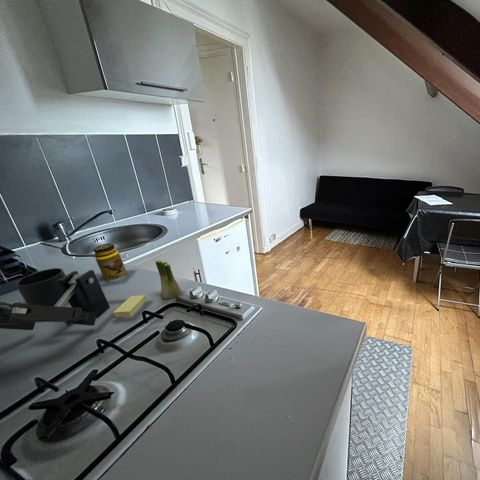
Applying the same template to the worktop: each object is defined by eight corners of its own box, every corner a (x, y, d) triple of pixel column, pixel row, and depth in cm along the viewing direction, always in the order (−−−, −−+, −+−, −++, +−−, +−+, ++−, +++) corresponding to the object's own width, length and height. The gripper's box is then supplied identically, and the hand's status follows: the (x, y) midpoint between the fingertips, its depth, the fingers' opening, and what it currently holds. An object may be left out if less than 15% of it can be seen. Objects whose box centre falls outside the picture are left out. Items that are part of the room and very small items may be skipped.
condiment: (123, 283, 84) (109, 249, 79) (93, 287, 82) (77, 253, 77) (133, 272, 90) (121, 240, 86) (105, 276, 89) (91, 244, 84)
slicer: (96, 332, 62) (74, 287, 57) (58, 335, 62) (32, 290, 57) (128, 302, 73) (112, 262, 68) (96, 304, 73) (77, 264, 68)
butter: (133, 320, 66) (129, 311, 64) (117, 322, 66) (112, 312, 64) (148, 303, 72) (145, 294, 71) (134, 304, 72) (130, 295, 71)
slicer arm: (63, 323, 56) (55, 317, 55) (37, 324, 56) (29, 318, 55) (96, 279, 65) (90, 273, 64) (74, 280, 65) (68, 274, 64)
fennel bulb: (183, 301, 72) (171, 262, 68) (163, 307, 70) (150, 268, 65) (181, 291, 77) (170, 255, 72) (163, 297, 75) (149, 260, 70)
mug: (78, 287, 83) (65, 261, 79) (74, 304, 74) (60, 276, 71) (37, 298, 78) (21, 272, 74) (28, 319, 69) (10, 290, 65)
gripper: (27, 279, 41) (122, 300, 61) (-135, 290, 41) (14, 308, 60) (9, 329, 38) (115, 334, 58) (-166, 342, 38) (1, 343, 58)
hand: (64, 321), depth 59 cm, fingers open, 13 cm apart
